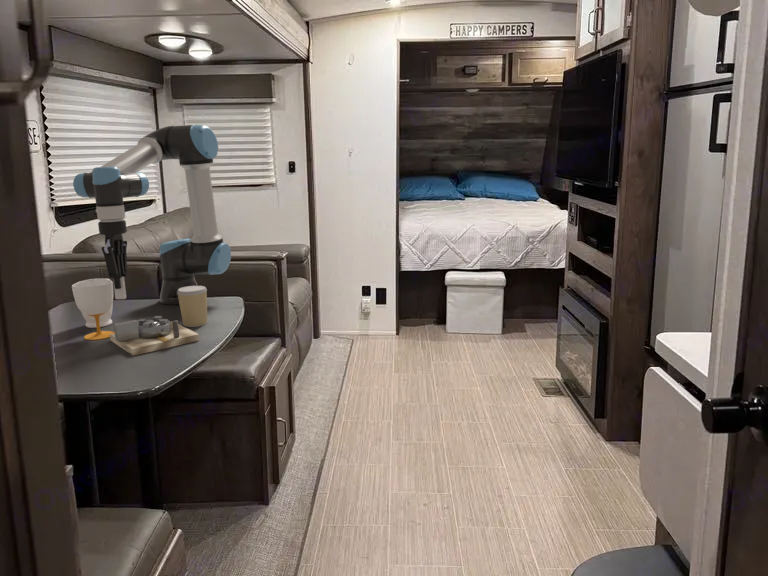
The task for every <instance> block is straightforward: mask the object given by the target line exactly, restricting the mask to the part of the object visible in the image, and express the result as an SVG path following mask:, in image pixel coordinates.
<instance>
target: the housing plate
mask: <svg viewBox="0 0 768 576" xmlns="http://www.w3.org/2000/svg"><path fill="white" fill-rule="evenodd" d="M170 326H171V333H169V334H168V335H165V336H161V337H156V338H135V339H130V340H126V341H121V342H118V341H116V338H115V332H114V334H110V337H109V339H110V341H111V342H112V343H114V344H115V345H116V346H118V347H120V348H122V350H124V351H125V352H127V353H129V355H131V356H132V357H133V356H139V355H141V354H142V355H143V354H146V353H151V352H155V351H159V350H160V351H161V350H164V349H168V348H172V347H177V346H181V345H185V344H190V343H193V342H198V341H200V334H199V333H198V332H196V331H193V330H192V329H189V328H188V327H186V326H184V325H181V324H179V320H172V321H170Z"/></svg>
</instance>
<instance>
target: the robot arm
mask: <svg viewBox="0 0 768 576" xmlns="http://www.w3.org/2000/svg"><path fill="white" fill-rule="evenodd" d="M218 151H219V144H218V139H217V136H216V134H215V133H214V131H213V130H212V128H211V127H209V126H208V125H204V124H203V125H202V124H191V125H190V124H188V125H170V126H169V125H168V126H163V127H161V128H158V129H156V130H154V131H152V132H150V133H149V134H147V135H145V136H143V137H141V138H140V139H139V140H138V141H137V144H136V145H134V146H133V147H131V148H129V149H128V150H126V151H124V152H123V153H121V154H120V155H118V156H116V157H115V158H113V159H111V160H109V161H107V162H106V163H105V164H103V165H101V166H96V167H94V168H93V169H92V171H91V172H82V173H78V174H76V175H75V176H74V178H73V181H72V187H73V190H74V192H75V193H76V195H78V197H82V198H89V199H92V198H94V200H95V206H96V207H95V208H96V209H95V213H96V215H97V217H96V218H97V220H99V221H98V223H97V225H98V233H99V235H101V236H104V245H105V246H101V251H102V254H103V256H104V262H105V265H106V268H107V269H106V270H107V275H108V279H112V280H113V281H112V282H113V291H114V298H115V300H125V299H127V291H126V290H127V289H126V281H125V277H127V276H128V269H127V268H128V265H127V264H128V263H127V262H128V261H127V254H128V253H127V247H128V241H127V240H124V237H123V234H126V233H127V231H128V230H127V222H126V221H125V219H126V211H125V205H124V204H125V203H124V199H127V198H128V199H129V198H134V197H135V198H139V197H141V196H144V195H146V194H147V193H148V191H149V188H150V181H149V179H148V177H147V175H146V174H144V173H143V172H141V170H143V169H145V168H146V167H148V166H150V165H151V164H153V165H154V164H158V163H160V162H161V161H165V160H178V161H179V166H180V167H182V168H183V169H184V174H185V181H186V187H187V197H188V201H189V202H188V203H189V209H190V210H189V211H190V216H191V224H192V225H191V226H192V231H193V233H192V234H193V236H192V237H191V238H181V239H180V238H179V239H176V240H170V241H166V242H163V243H161V244H159V259H160V260H159V261H160V268H161V277H162V285H161V290H160V294H159V301H160V304H162V305H180V304H179V298H178V294H177V291H178V289H180V288H182V287H187V286H199V285H198V283H197V281H196V279H195V275H211V276H213V275H222V274H223V273H226V271H227V269H228V268H229V265H230V263H231V259H232V251H231V250H232V249H231V247H230V245H229V244H228V243H226V242H224V239H223V236H222V235H221V234H220V233H218V225H217V224H218V223H217V217H216V209H215V202H214V201H215V200H214V193H213V186H212V177H211V166H212V165H213V164H214V159H215V158H216V157H217V155H218Z"/></svg>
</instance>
